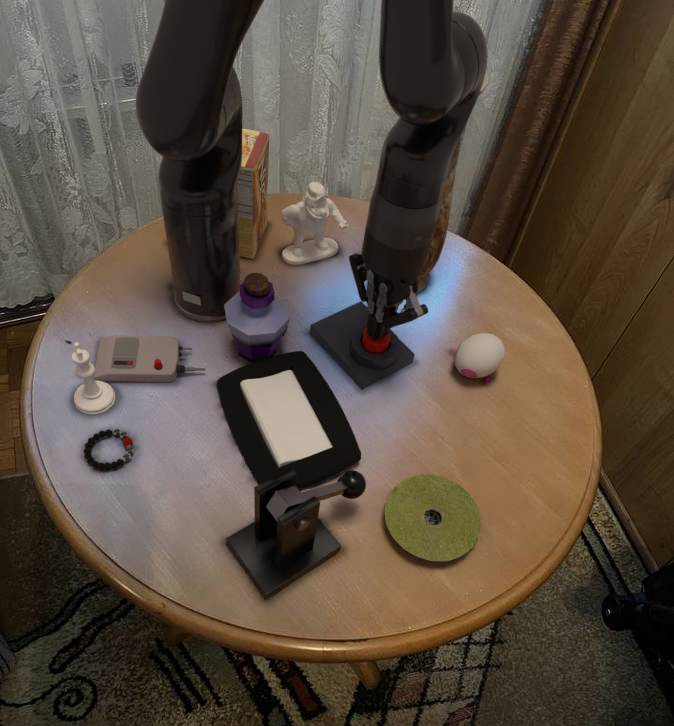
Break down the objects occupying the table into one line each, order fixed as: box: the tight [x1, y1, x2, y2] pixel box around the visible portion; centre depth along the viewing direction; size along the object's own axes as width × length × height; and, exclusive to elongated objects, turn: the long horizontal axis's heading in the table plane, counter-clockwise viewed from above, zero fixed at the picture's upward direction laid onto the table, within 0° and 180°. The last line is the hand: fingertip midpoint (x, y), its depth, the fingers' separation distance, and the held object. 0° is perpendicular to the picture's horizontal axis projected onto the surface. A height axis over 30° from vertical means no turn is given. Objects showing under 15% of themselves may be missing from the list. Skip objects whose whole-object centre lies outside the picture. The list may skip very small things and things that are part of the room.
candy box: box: [237, 128, 270, 260], centre depth 95 cm, size 9×4×15 cm, turn 171°
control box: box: [309, 300, 415, 390], centre depth 89 cm, size 12×9×4 cm
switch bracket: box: [225, 467, 342, 600], centre depth 68 cm, size 10×8×12 cm
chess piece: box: [71, 341, 116, 415], centre depth 77 cm, size 5×5×10 cm
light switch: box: [216, 350, 362, 491], centre depth 81 cm, size 20×3×14 cm
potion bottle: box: [224, 272, 291, 363], centre depth 84 cm, size 9×9×12 cm
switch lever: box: [266, 469, 367, 521], centre depth 68 cm, size 13×3×3 cm, turn 127°
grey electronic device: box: [93, 334, 206, 383], centre depth 84 cm, size 7×16×3 cm, turn 94°
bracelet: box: [83, 428, 135, 471], centre depth 77 cm, size 6×6×1 cm
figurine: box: [280, 181, 349, 266], centre depth 96 cm, size 9×7×12 cm
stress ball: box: [452, 331, 506, 383], centre depth 89 cm, size 8×8×7 cm
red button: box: [362, 328, 391, 354], centre depth 86 cm, size 4×4×2 cm
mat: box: [384, 473, 482, 562], centre depth 76 cm, size 11×11×2 cm
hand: (376, 334), depth 86 cm, fingers closed
